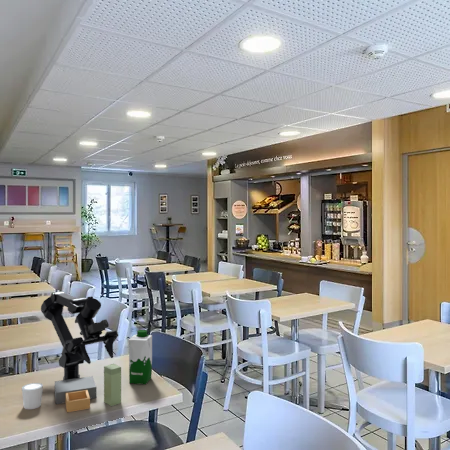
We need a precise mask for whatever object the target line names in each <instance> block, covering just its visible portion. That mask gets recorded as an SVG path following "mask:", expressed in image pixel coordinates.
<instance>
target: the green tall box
mask: <svg viewBox="0 0 450 450" xmlns="http://www.w3.org/2000/svg"><path fill="white" fill-rule="evenodd" d="M103 403H105V404H106V405H109V406H111V407H113V406H116V405H119V404H121V403H122V366H120V365H118V364H116V363H111V364H107V365H104V366H103Z"/></svg>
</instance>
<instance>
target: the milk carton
mask: <svg viewBox="0 0 450 450" xmlns="http://www.w3.org/2000/svg"><path fill="white" fill-rule="evenodd" d="M136 333H137V334H133V336H131V337H130V338H129V339H128V347H129V348H128V350H129V351H128V353H129V355H128V361H129V362H128V366H129V367H128V374H129V376H128V379H129V380H128V381H129V384H131V383H134V385H135V384H136V385H147V384H148V383H149V381H150V380H151V379H152V370H153V334H148V330H147V329H138V330H137V332H136ZM146 383H147V384H146Z"/></svg>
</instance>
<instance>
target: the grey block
mask: <svg viewBox="0 0 450 450" xmlns="http://www.w3.org/2000/svg"><path fill="white" fill-rule="evenodd" d="M96 398H97V384H96V382H95V379H94V376H93V375H91V376H84V377H80V378H75V379H68V380H63V379H62V380H56V381H54V399H55V404H56V405H59V404H64V403H65V408H66V413H72V412H77V411H83V410H90V409H91V399H96Z"/></svg>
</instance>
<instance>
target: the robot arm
mask: <svg viewBox="0 0 450 450" xmlns="http://www.w3.org/2000/svg"><path fill="white" fill-rule="evenodd" d="M64 307H66V308H67V311H68V312H69V313H70V314H71V315H73V314H74V315H75V314H77V315H76V316H75V320H74V323H75V324H77V325H78V328H79V330H80V332H79V335H80V336H82V337H75V338H73V335H72V333H71V331H70V328H69V327H68V324H67V323H66V320H65V318H64V316H63V311H64ZM101 308H102V302H100V301H99V300H98V299H96V298H94V296H92V295H91V296H87V297H75V296H72V295H70V294H68V293H65V292H64V291H57V292H53V293H51V294H50V296H49V297H47V298H46V299H44V300H43V302H42V304H41V306H40V311H41V313H42V314H43V316H44V318H46V319H47V320H48V321H50V322H51V323H52V325H53V328H54V330H55V332H56V335H57V336H58V340H59V341H60V344H61V346H62V349H61V355H60V358H58V365H59V367H60V368H63V376H62V380H68V379H75V378H81V375H80V374H79V373H80V371H79V370H80V365H81V364H82V365H83V364H84V363H85V362H86V363H87V364H89V365H91V363H92V362H91V358H90V356H89V353H88V351H87V349H86V348H87V347H86V346H89V345H92V344H96V343H103V344H104V345H103V346H104V348H105V350H106V352H107V353H108V355H109V358H111V359H113V358H114V343H115V341H116V340H117V338H118V337H119V334H118V333H119V332H118V331H117V330H114V329H113V330H109V331H106V330H107V328H109V327H110V326H109V325H110V324H109V322H108V320H107V318H105V319H102V320H100V321H99V322H95V320H94V318H95V317H96V316H97V314H98V312H99V310H101ZM103 331H106V332H105V334H104V335H102V334H103ZM101 335H102V336H101Z"/></svg>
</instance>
